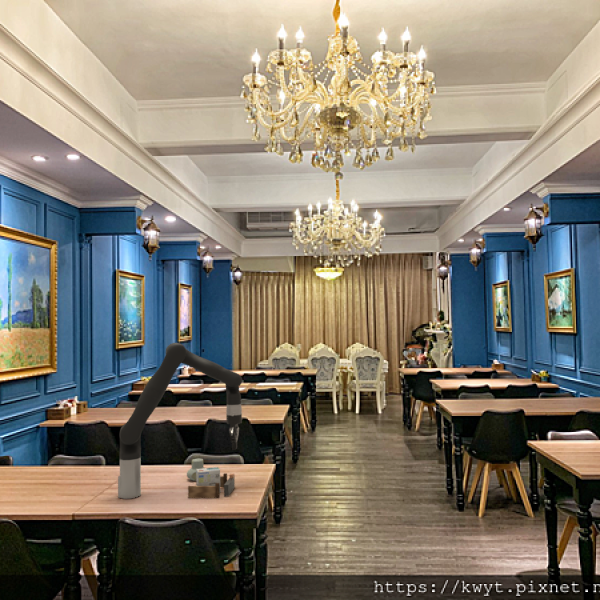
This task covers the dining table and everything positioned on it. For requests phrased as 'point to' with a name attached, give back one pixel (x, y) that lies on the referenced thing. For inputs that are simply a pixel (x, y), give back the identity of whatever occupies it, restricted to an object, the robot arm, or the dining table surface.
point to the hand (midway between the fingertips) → (234, 449)
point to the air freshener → (194, 468)
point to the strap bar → (229, 485)
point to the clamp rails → (207, 489)
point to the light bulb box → (208, 477)
